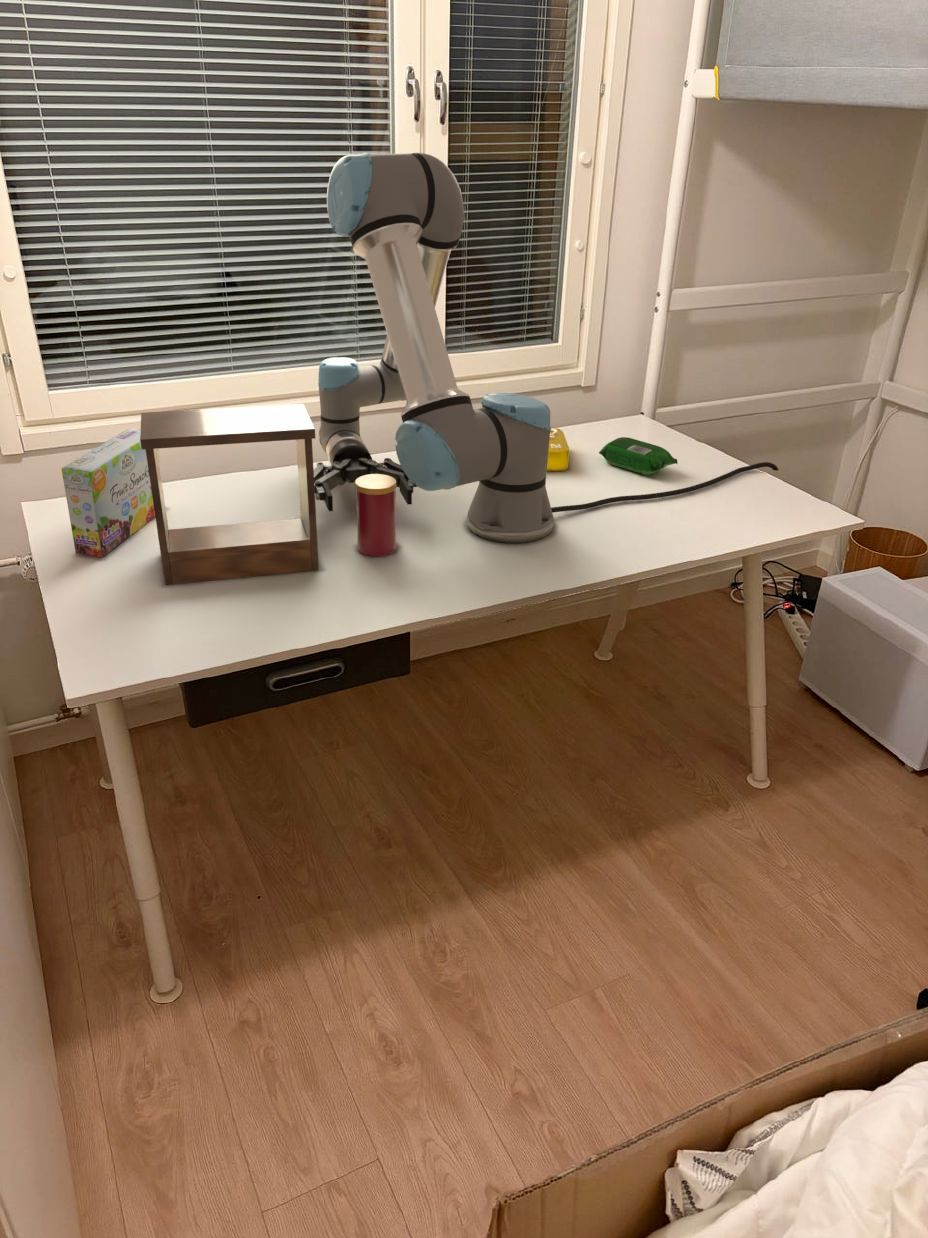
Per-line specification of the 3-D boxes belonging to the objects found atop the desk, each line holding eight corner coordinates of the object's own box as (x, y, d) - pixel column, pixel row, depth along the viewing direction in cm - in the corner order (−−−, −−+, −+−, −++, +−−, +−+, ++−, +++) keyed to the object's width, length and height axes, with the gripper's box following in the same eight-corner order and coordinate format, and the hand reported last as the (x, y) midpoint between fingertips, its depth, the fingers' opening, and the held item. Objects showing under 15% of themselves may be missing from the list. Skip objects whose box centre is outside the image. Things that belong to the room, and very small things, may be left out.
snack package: (658, 483, 188) (661, 458, 185) (595, 462, 197) (598, 438, 194) (677, 474, 192) (681, 450, 190) (615, 454, 202) (618, 431, 199)
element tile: (492, 445, 204) (492, 424, 202) (560, 446, 205) (562, 425, 202) (496, 470, 191) (497, 447, 189) (569, 471, 192) (571, 449, 189)
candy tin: (392, 538, 162) (391, 472, 156) (400, 554, 156) (400, 487, 150) (353, 541, 160) (351, 475, 154) (360, 558, 154) (359, 490, 148)
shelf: (311, 538, 161) (303, 403, 149) (322, 570, 150) (315, 428, 139) (161, 551, 154) (141, 412, 143) (162, 586, 144) (140, 439, 132)
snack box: (106, 559, 151) (90, 471, 144) (74, 555, 152) (57, 467, 145) (167, 509, 170) (156, 428, 162) (139, 505, 170) (126, 425, 163)
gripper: (413, 471, 181) (441, 514, 164) (283, 481, 175) (297, 527, 157) (413, 434, 177) (442, 474, 160) (280, 442, 171) (295, 485, 154)
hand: (370, 500), depth 158 cm, fingers open, 13 cm apart
